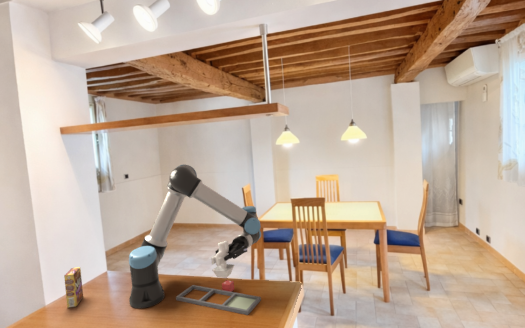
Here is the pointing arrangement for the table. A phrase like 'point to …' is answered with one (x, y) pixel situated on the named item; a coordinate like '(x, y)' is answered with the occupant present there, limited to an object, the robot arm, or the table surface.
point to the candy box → (73, 287)
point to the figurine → (224, 268)
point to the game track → (233, 304)
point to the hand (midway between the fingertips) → (215, 261)
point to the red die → (228, 285)
